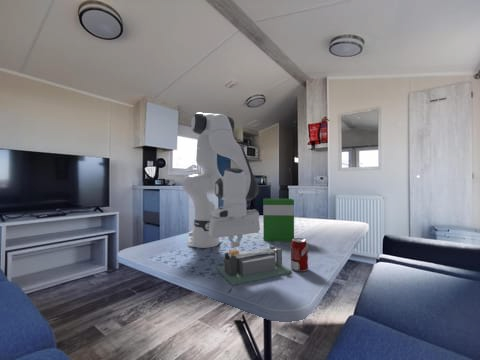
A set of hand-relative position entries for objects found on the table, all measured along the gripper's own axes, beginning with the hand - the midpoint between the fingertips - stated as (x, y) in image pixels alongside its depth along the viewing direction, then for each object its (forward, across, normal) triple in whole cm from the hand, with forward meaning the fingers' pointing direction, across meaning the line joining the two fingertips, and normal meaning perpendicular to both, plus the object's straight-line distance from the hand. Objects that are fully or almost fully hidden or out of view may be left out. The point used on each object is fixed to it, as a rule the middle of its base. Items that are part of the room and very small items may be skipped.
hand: (235, 246), depth 92 cm
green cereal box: (+11, -44, -36) cm, 58 cm away
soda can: (+11, -25, +6) cm, 28 cm away
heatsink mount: (+11, -8, 0) cm, 13 cm away
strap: (+4, -8, 0) cm, 9 cm away
